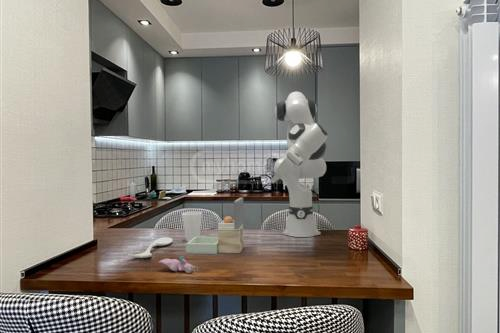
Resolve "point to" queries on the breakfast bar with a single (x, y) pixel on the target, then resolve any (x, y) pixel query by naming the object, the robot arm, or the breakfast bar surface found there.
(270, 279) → the breakfast bar surface
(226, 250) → the stand
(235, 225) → the lever flap
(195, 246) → the tray
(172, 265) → the rabbit figure
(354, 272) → the breakfast bar surface
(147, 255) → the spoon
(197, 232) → the foam cup
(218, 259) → the breakfast bar surface
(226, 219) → the ball
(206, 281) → the breakfast bar surface
